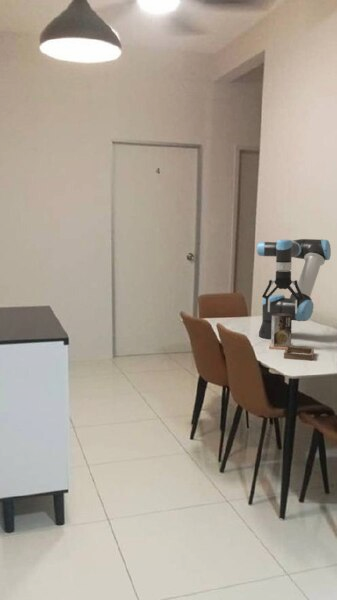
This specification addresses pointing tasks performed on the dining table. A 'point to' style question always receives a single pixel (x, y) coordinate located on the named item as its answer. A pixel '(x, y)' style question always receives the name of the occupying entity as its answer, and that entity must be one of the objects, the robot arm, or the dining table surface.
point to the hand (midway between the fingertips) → (282, 312)
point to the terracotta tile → (279, 347)
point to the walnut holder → (299, 350)
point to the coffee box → (281, 329)
